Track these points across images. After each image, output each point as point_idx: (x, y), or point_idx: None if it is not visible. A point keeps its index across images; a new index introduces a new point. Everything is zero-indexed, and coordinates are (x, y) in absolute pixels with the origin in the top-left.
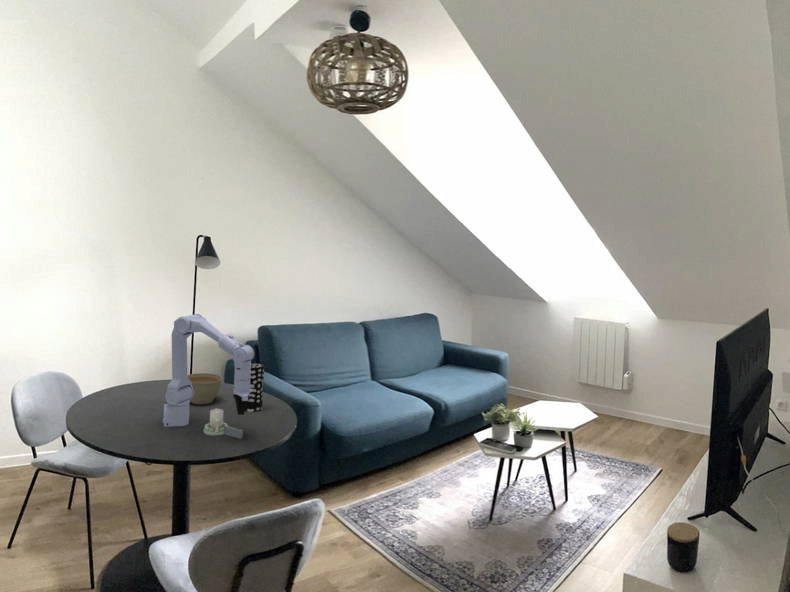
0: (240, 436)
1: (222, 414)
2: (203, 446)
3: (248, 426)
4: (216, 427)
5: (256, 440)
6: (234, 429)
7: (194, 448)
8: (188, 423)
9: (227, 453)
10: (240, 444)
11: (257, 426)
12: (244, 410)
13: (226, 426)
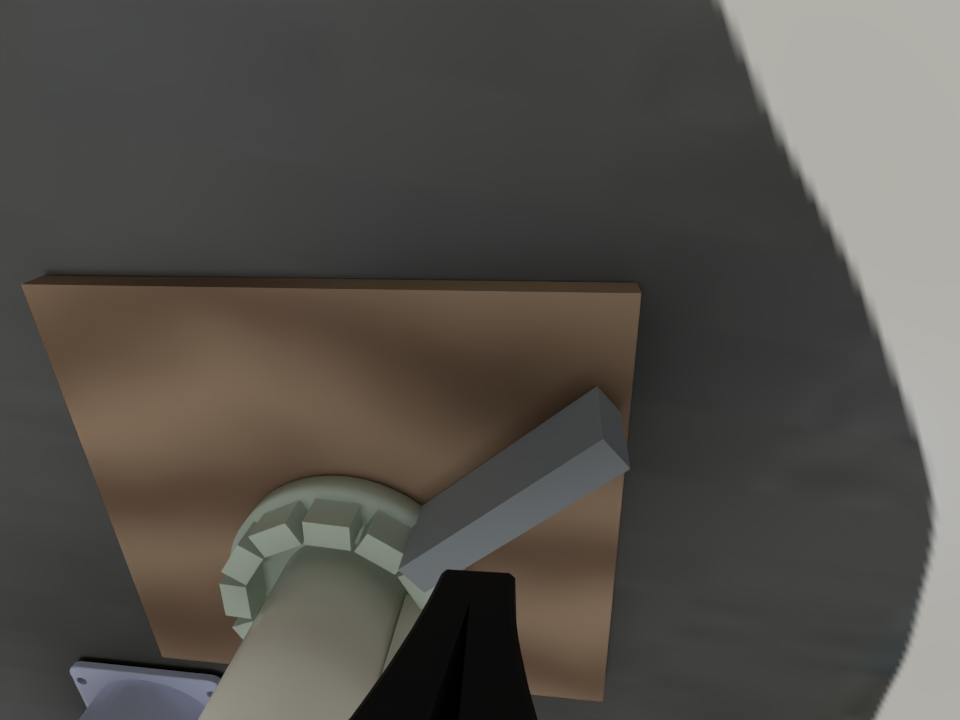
0: (623, 429)
1: (315, 713)
2: (628, 665)
3: (145, 231)
4: None
5: (626, 217)
6: (543, 518)
7: (649, 715)
8: (160, 694)
9: (881, 548)
10: (691, 406)
11: (137, 119)
12: (517, 642)
13: (426, 572)
